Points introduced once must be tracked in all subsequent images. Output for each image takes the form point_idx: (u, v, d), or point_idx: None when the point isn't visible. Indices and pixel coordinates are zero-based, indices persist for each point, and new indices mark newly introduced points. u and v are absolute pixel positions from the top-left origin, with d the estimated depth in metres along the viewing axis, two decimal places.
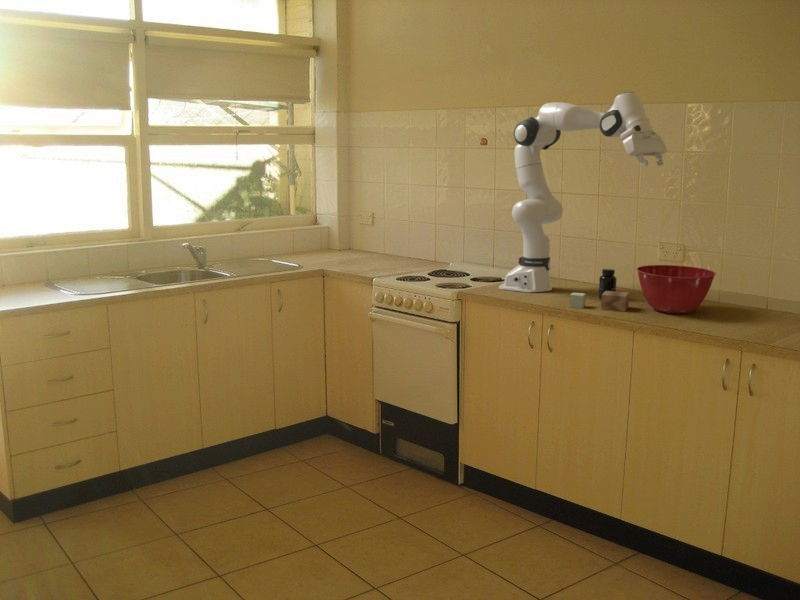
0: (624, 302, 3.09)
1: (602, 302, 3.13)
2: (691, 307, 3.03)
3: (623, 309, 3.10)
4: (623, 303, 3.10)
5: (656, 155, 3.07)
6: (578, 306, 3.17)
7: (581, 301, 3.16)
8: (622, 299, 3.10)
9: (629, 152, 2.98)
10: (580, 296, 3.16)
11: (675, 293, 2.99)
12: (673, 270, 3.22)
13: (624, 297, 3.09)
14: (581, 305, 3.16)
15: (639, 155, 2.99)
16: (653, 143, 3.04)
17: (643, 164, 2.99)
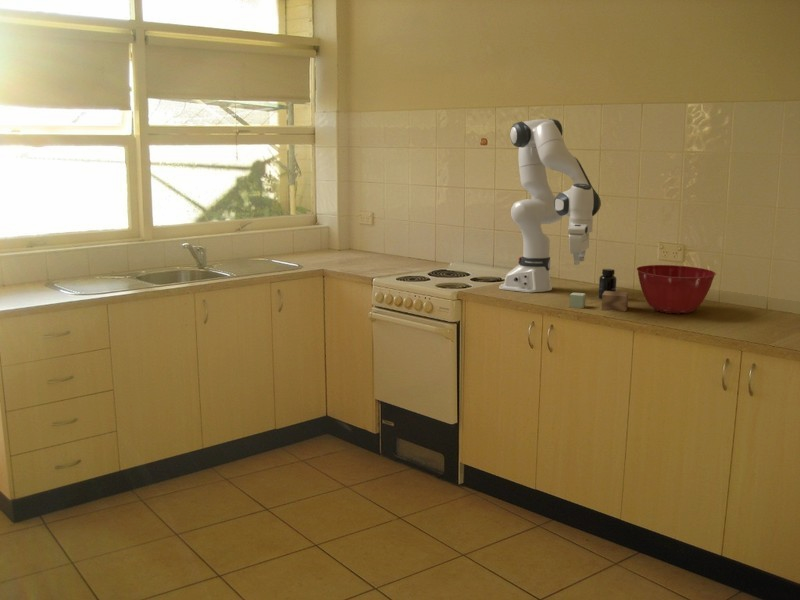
0: (625, 302, 3.10)
1: (603, 302, 3.12)
2: (691, 307, 3.03)
3: (624, 309, 3.10)
4: (624, 303, 3.10)
5: None
6: (578, 306, 3.17)
7: (581, 301, 3.16)
8: (623, 299, 3.10)
9: (572, 250, 3.06)
10: (580, 296, 3.16)
11: (675, 293, 2.99)
12: (673, 269, 3.22)
13: (625, 297, 3.09)
14: (581, 305, 3.16)
15: (577, 254, 3.09)
16: (586, 240, 3.16)
17: (575, 263, 3.11)
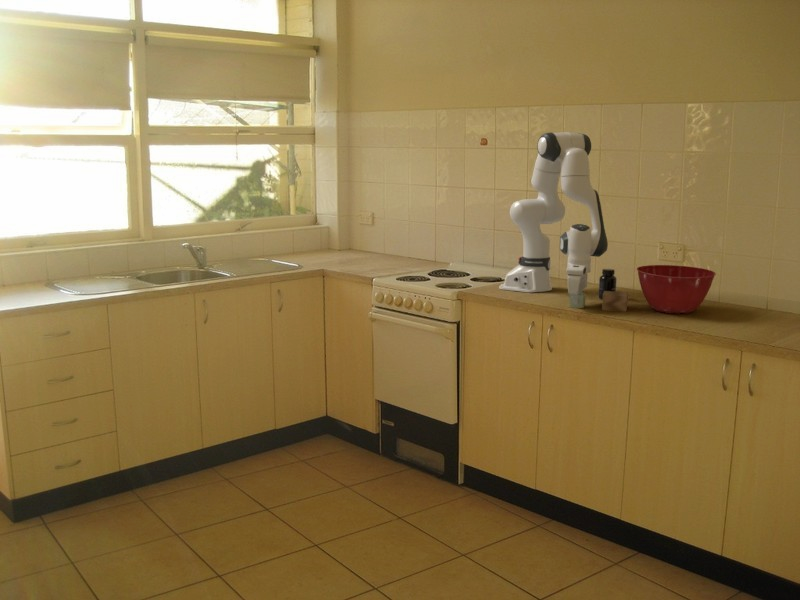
0: (625, 302, 3.10)
1: (603, 302, 3.12)
2: (691, 307, 3.03)
3: (624, 309, 3.10)
4: (625, 303, 3.10)
5: None
6: (578, 306, 3.17)
7: (581, 301, 3.16)
8: (623, 299, 3.10)
9: (570, 291, 3.09)
10: (580, 296, 3.16)
11: (675, 293, 2.99)
12: (673, 269, 3.22)
13: (625, 297, 3.09)
14: (581, 305, 3.16)
15: (576, 294, 3.14)
16: (584, 280, 3.19)
17: (575, 302, 3.15)
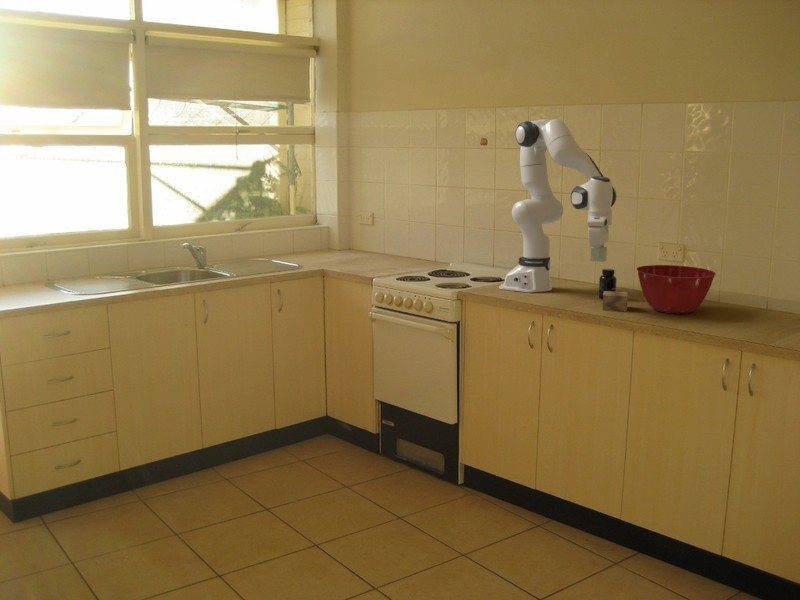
0: (626, 302, 3.10)
1: (604, 302, 3.12)
2: (691, 307, 3.03)
3: (625, 309, 3.10)
4: (625, 303, 3.10)
5: None
6: (599, 259, 3.11)
7: (602, 254, 3.10)
8: (624, 299, 3.10)
9: (591, 243, 3.03)
10: (601, 249, 3.10)
11: (675, 293, 2.99)
12: (673, 270, 3.22)
13: (626, 297, 3.09)
14: (602, 258, 3.10)
15: (597, 247, 3.08)
16: (605, 234, 3.13)
17: (596, 255, 3.09)
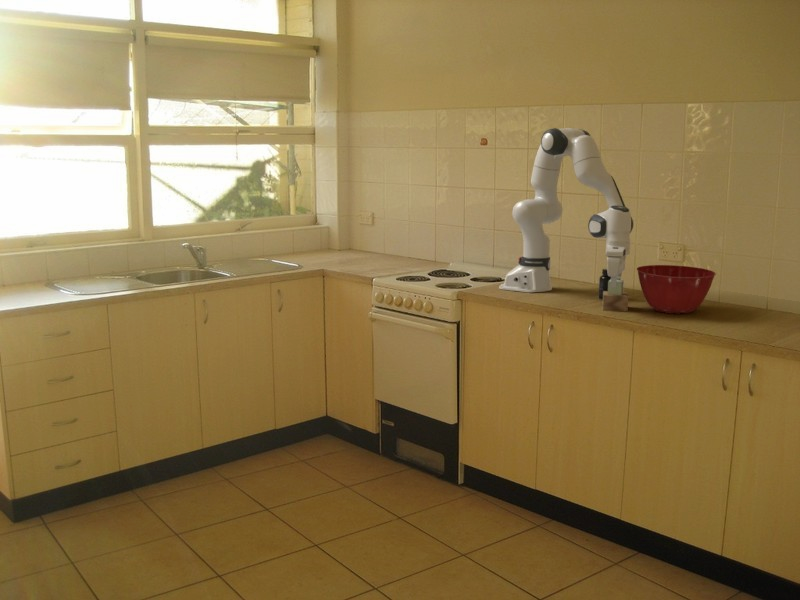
0: (626, 302, 3.10)
1: (604, 303, 3.12)
2: (691, 307, 3.03)
3: (625, 309, 3.11)
4: (626, 303, 3.10)
5: None
6: (616, 293, 3.12)
7: (620, 288, 3.11)
8: (624, 299, 3.10)
9: (610, 273, 3.04)
10: (619, 283, 3.11)
11: (675, 293, 2.99)
12: (673, 270, 3.22)
13: (626, 297, 3.10)
14: (620, 292, 3.11)
15: (614, 277, 3.07)
16: (622, 263, 3.14)
17: (613, 285, 3.09)
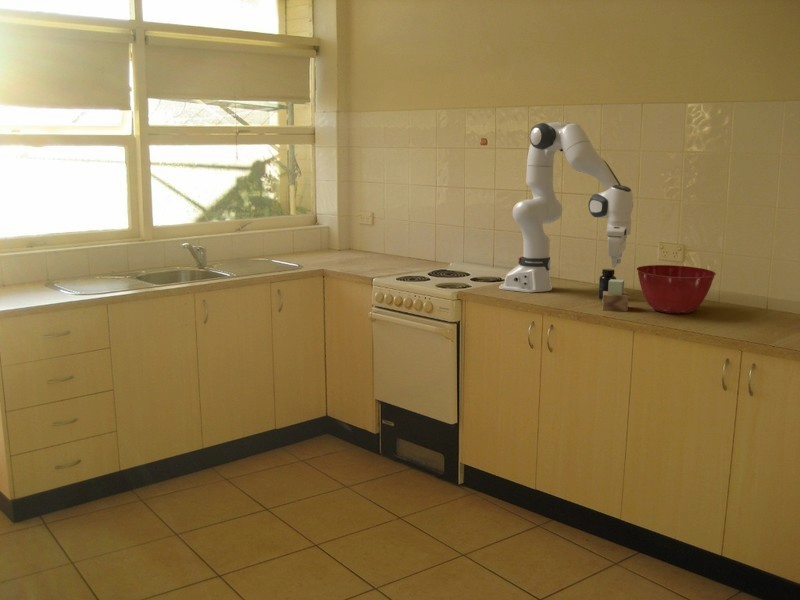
0: (626, 302, 3.10)
1: (604, 302, 3.12)
2: (691, 307, 3.03)
3: (625, 309, 3.11)
4: (626, 303, 3.10)
5: None
6: (617, 293, 3.12)
7: (620, 288, 3.11)
8: (624, 299, 3.10)
9: (610, 253, 3.03)
10: (619, 282, 3.11)
11: (675, 293, 2.99)
12: (673, 270, 3.22)
13: (626, 297, 3.10)
14: (620, 292, 3.12)
15: (615, 257, 3.06)
16: (623, 243, 3.13)
17: (613, 265, 3.08)
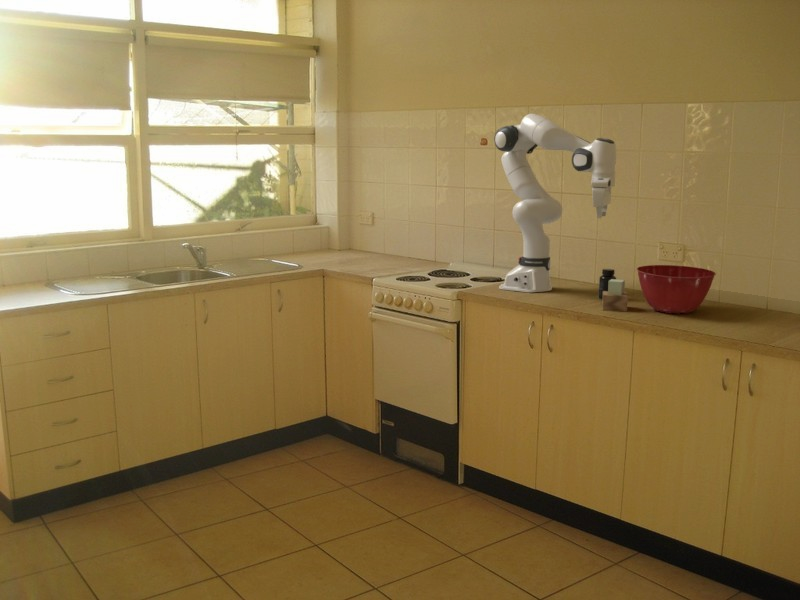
0: (626, 302, 3.10)
1: (604, 302, 3.12)
2: (691, 307, 3.03)
3: (625, 309, 3.11)
4: (625, 303, 3.10)
5: None
6: (617, 293, 3.12)
7: (620, 288, 3.11)
8: (624, 299, 3.10)
9: (595, 204, 3.10)
10: (619, 282, 3.11)
11: (675, 293, 2.99)
12: (673, 270, 3.22)
13: (626, 297, 3.10)
14: (620, 292, 3.12)
15: (599, 208, 3.13)
16: (608, 195, 3.20)
17: (598, 216, 3.14)
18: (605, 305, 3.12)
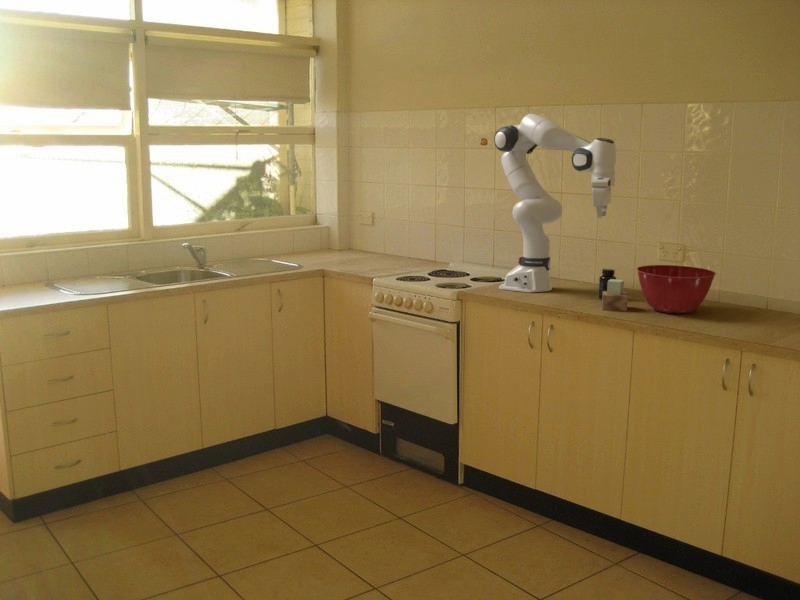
0: (626, 302, 3.10)
1: (604, 303, 3.12)
2: (691, 307, 3.03)
3: (625, 309, 3.11)
4: (625, 303, 3.10)
5: None
6: (616, 293, 3.12)
7: (619, 288, 3.11)
8: (624, 299, 3.10)
9: (595, 203, 3.10)
10: (618, 282, 3.11)
11: (675, 293, 2.99)
12: (673, 270, 3.22)
13: (626, 297, 3.10)
14: (619, 292, 3.12)
15: (599, 207, 3.13)
16: (608, 195, 3.20)
17: (598, 216, 3.14)
18: (605, 305, 3.12)
